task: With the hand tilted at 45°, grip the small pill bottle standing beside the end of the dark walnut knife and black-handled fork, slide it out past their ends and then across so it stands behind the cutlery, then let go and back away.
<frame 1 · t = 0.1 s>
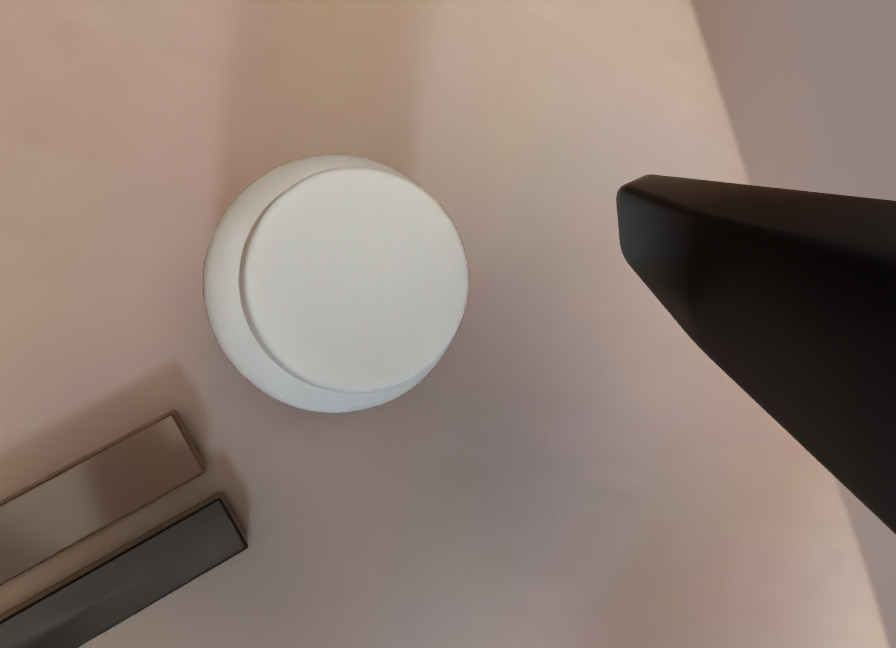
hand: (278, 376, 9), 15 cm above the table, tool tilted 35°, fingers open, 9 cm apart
pill bottle: (306, 293, 24), on the table
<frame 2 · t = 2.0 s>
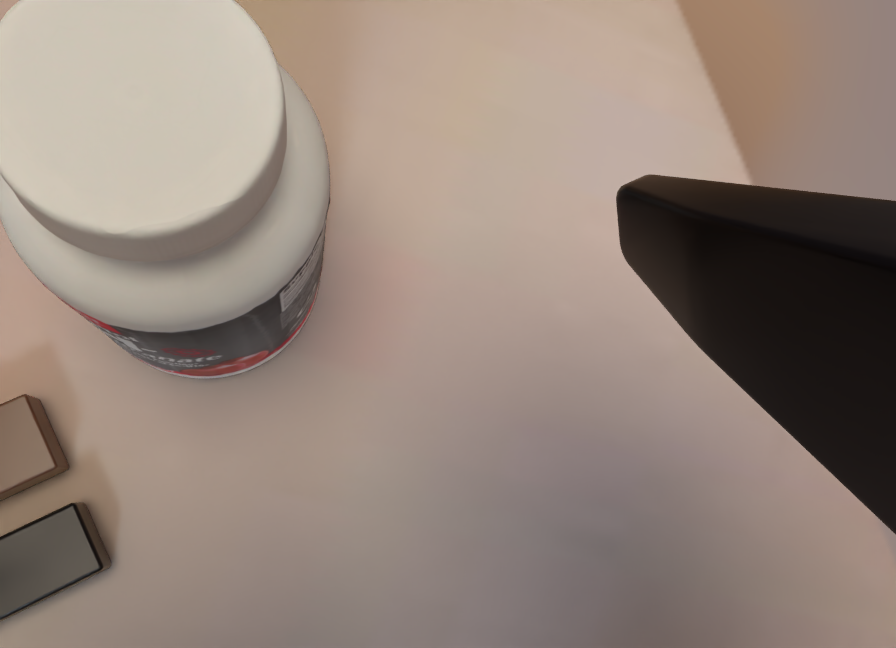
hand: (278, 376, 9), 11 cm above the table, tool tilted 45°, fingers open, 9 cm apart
pill bottle: (211, 275, 21), on the table
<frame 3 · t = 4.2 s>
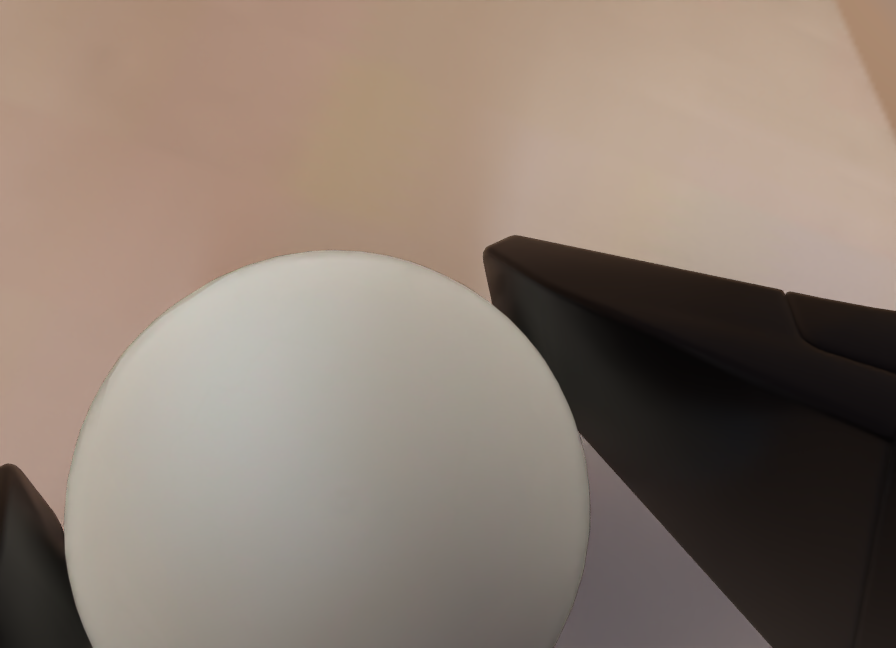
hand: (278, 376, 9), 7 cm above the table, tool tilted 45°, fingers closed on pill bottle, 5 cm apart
pill bottle: (318, 491, 16), on the table, touching gripper
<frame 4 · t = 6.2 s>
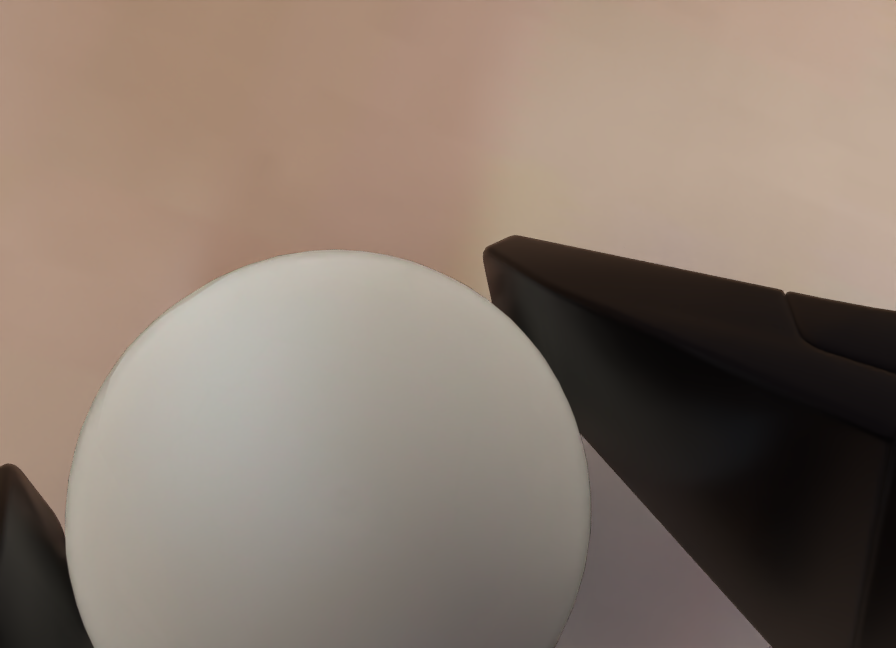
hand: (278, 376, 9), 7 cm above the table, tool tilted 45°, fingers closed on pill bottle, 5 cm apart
pill bottle: (319, 491, 16), on the table, touching gripper
when the fingers open (7 cm above the table, at t = 8.5 s): pill bottle stays where it is, on the table.
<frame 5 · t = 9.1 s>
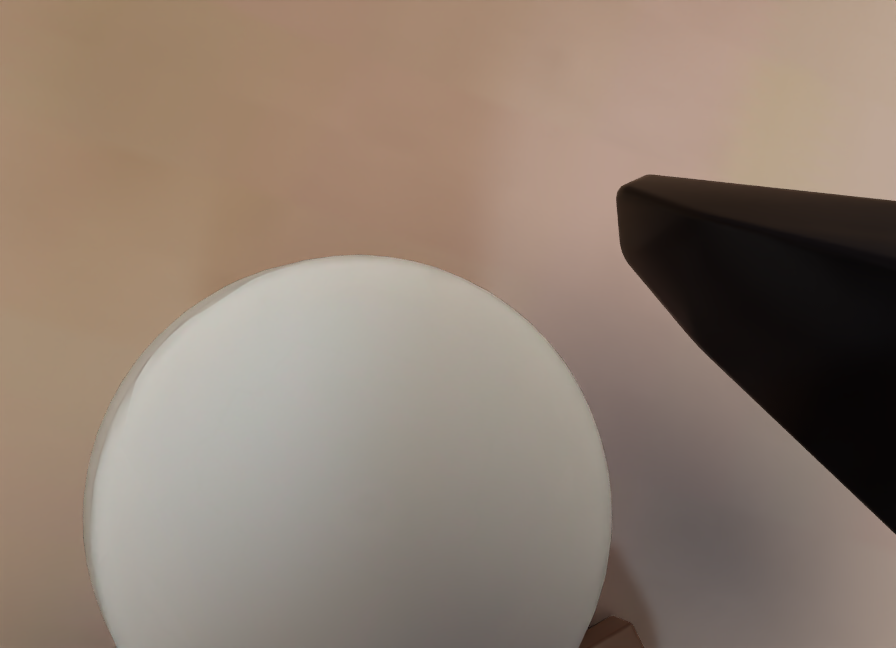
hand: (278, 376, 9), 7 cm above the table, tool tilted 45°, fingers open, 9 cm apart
pill bottle: (326, 493, 16), on the table
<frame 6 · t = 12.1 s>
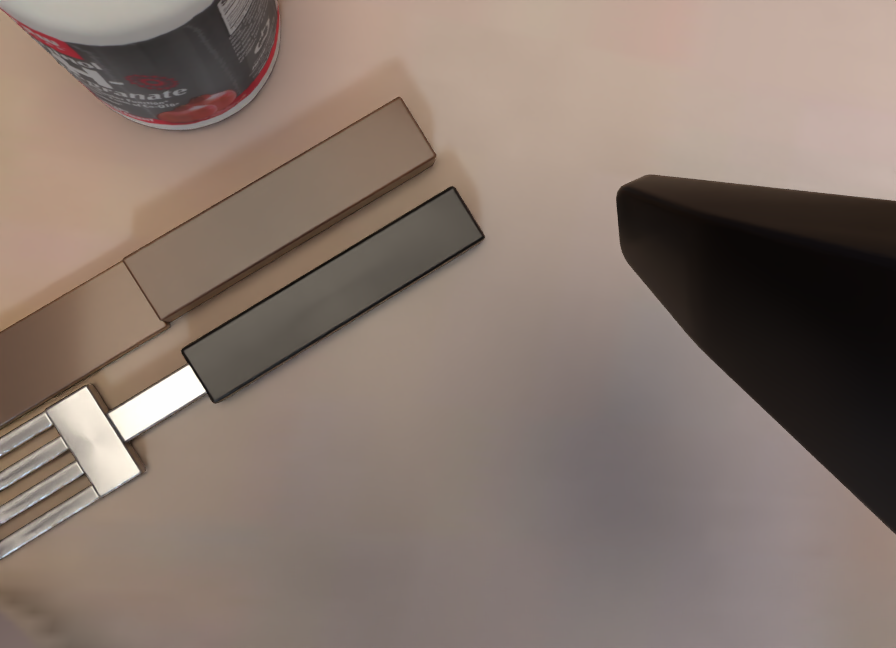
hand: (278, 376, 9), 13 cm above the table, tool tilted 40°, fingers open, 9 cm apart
pill bottle: (180, 35, 22), on the table
black-handled fork: (203, 376, 22), on the table
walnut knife: (150, 293, 22), on the table
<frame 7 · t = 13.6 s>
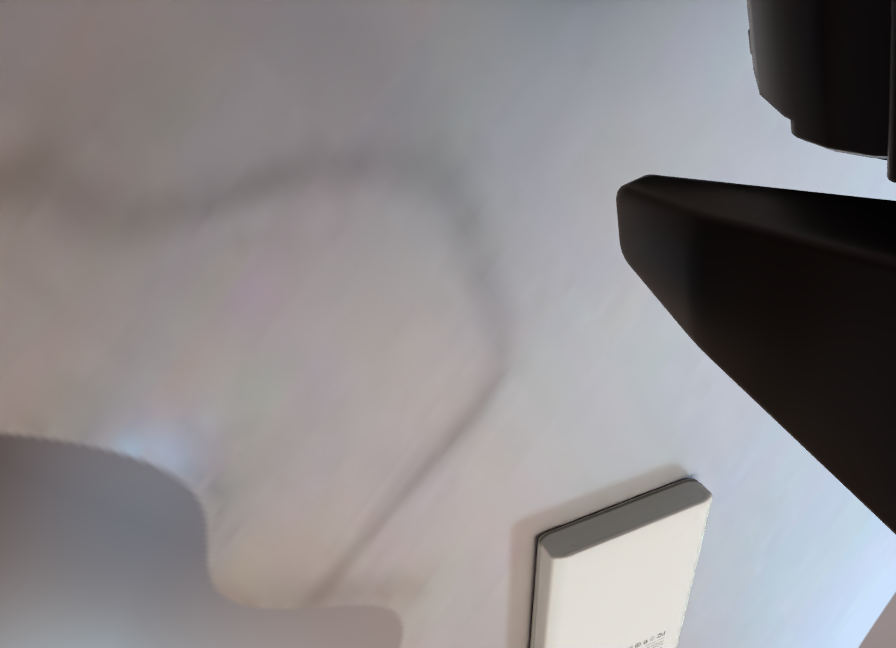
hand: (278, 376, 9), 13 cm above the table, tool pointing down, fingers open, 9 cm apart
hard drive: (600, 595, 40), on the table
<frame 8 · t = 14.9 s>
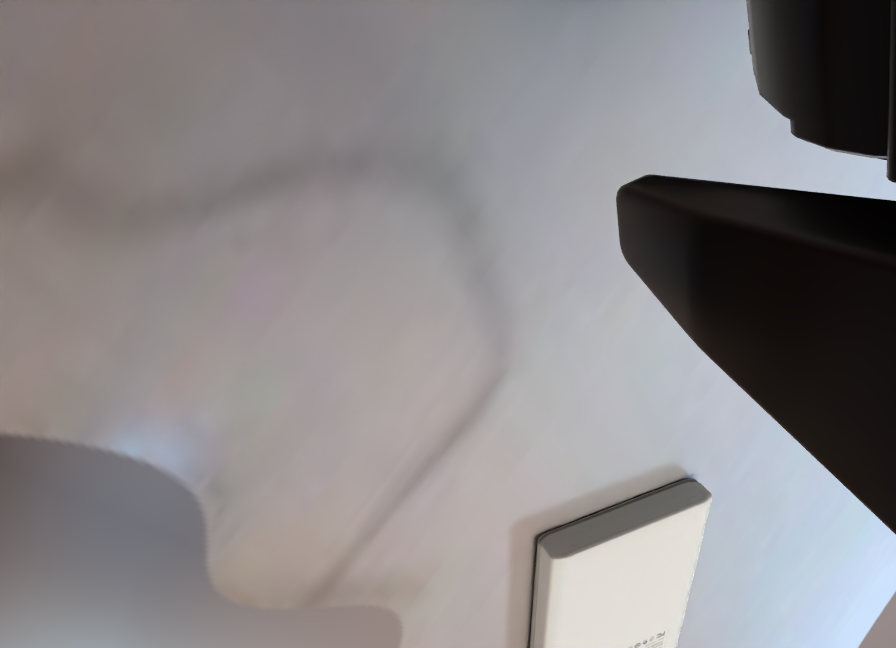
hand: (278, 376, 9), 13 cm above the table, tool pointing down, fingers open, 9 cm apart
hard drive: (600, 595, 40), on the table
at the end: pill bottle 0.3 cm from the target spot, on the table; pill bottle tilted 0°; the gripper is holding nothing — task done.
